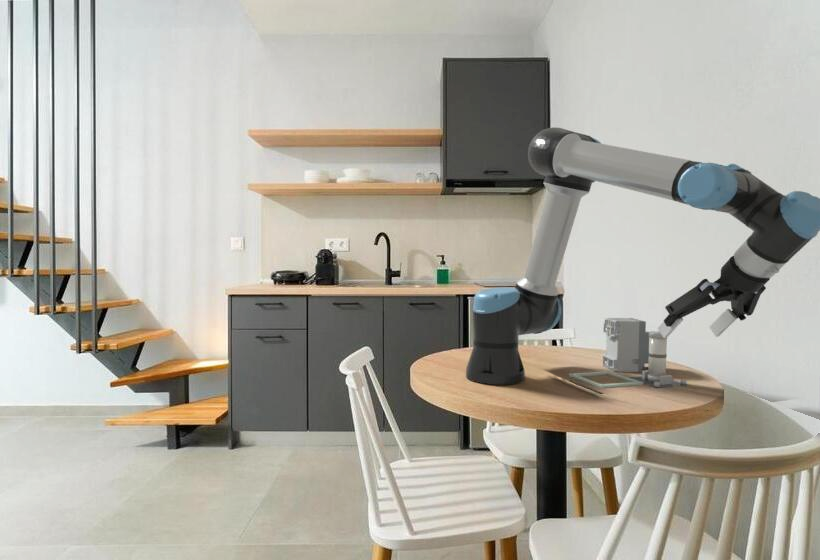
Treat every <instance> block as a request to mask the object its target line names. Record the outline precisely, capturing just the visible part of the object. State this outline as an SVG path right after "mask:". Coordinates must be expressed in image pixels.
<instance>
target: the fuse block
mask: <svg viewBox="0 0 820 560" xmlns="http://www.w3.org/2000/svg"><path fill="white" fill-rule="evenodd" d="M641 373H642V375H641V376H632V377H631V376H629V377H628V378H631V379H635V380H638V381H641V382H643V385H646V386H649V387H652V388H655V389H661V388H663V389H664V388H673V387H684V386H686V387H687V386H690V384H688V383H687V381H688V380H687V379H680V381H678V380H674V379H673V375H670V374H666V375H663V376H660V381H659V382H654V383H653V382H649V381H648V369H646V370H644V371H642V372H641Z"/></svg>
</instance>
